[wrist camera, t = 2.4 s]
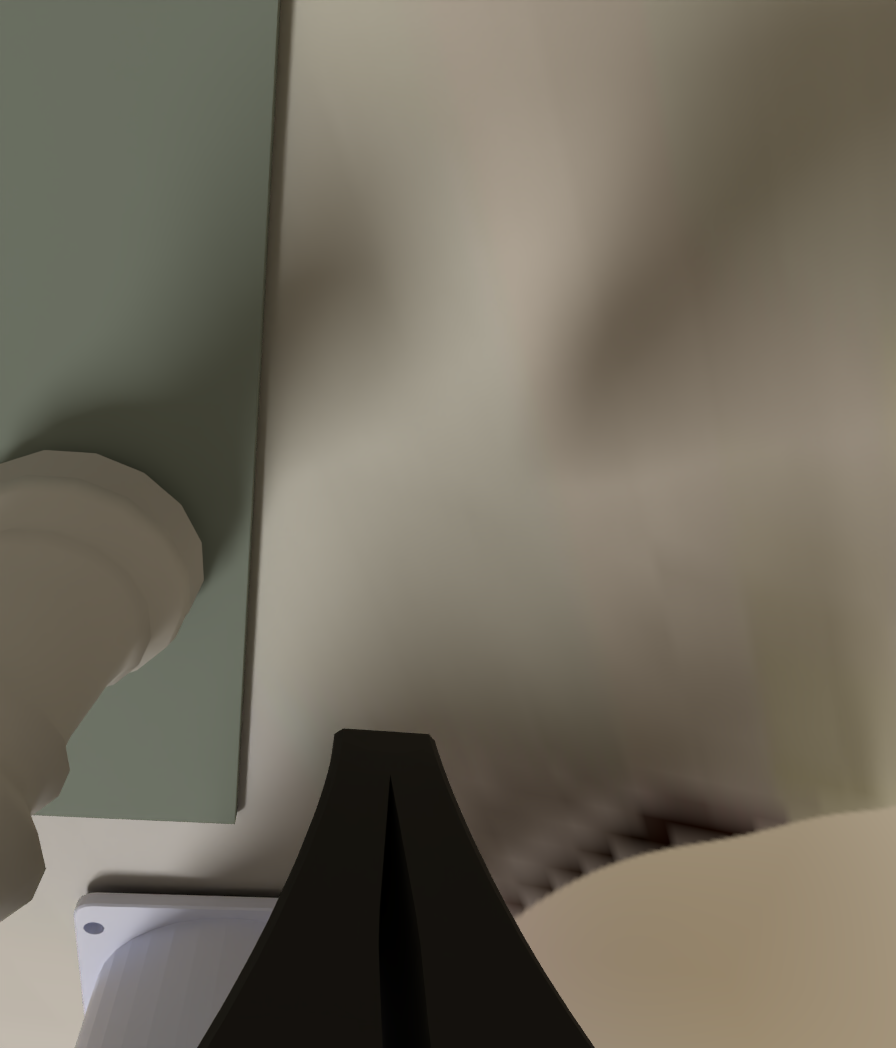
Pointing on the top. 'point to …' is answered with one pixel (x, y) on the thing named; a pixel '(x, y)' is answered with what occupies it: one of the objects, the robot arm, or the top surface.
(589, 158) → the top surface
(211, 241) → the mat
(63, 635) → the rook chess piece
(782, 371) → the top surface
